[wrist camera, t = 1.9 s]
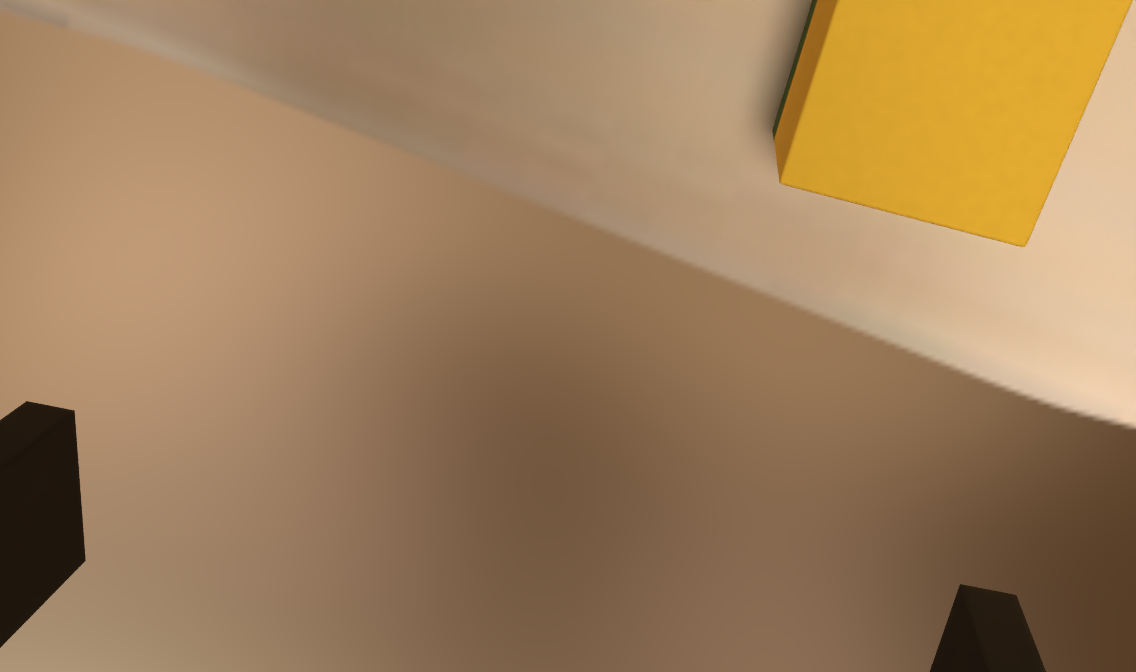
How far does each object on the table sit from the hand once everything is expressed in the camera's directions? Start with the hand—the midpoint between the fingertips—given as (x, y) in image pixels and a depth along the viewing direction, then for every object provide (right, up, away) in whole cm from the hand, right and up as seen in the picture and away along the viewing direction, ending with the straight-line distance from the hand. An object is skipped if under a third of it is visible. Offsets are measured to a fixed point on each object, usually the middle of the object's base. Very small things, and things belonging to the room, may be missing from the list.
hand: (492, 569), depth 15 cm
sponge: (+10, +12, +11) cm, 19 cm away
